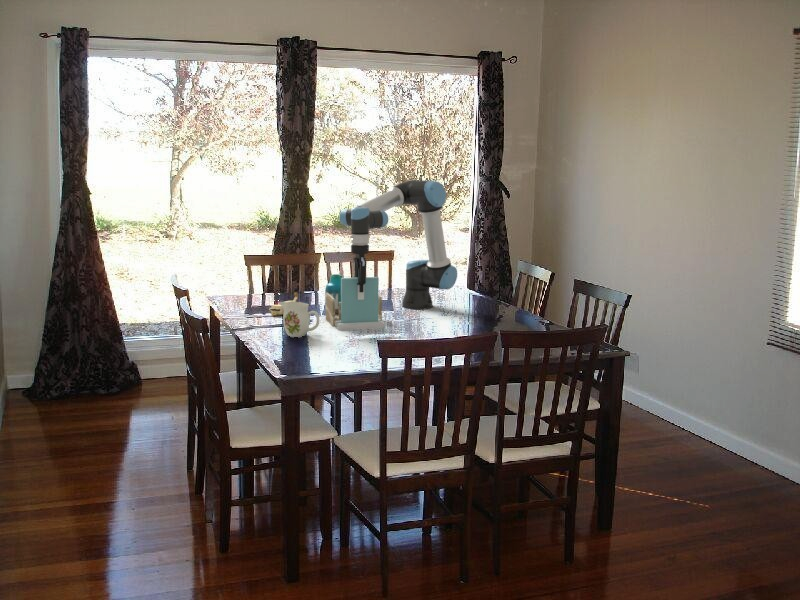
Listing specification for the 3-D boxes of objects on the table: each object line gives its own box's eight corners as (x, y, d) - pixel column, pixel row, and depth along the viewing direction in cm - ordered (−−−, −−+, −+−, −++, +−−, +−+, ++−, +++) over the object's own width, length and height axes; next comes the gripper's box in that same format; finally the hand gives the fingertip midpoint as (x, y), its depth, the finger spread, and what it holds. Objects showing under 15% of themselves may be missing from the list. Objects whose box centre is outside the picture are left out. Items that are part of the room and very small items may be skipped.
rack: (372, 320, 365) (373, 291, 363) (381, 327, 351) (382, 297, 348) (325, 322, 359) (325, 292, 356) (332, 329, 345) (332, 299, 342)
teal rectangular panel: (376, 326, 347) (377, 276, 343) (378, 327, 345) (378, 277, 341) (340, 328, 343) (340, 278, 338) (341, 329, 341) (341, 278, 337)
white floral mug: (315, 340, 325) (314, 307, 323) (273, 337, 329) (273, 304, 327) (323, 334, 336) (323, 302, 333) (283, 331, 340) (282, 299, 337)
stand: (379, 327, 350) (379, 318, 350) (384, 331, 343) (384, 322, 343) (334, 329, 345) (334, 320, 344) (338, 333, 338) (338, 324, 337)
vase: (344, 318, 368) (344, 277, 365) (322, 317, 370) (322, 276, 367) (350, 313, 378) (350, 273, 375) (328, 312, 380) (328, 272, 377)
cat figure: (287, 309, 395) (263, 314, 371) (288, 291, 394) (264, 295, 370) (306, 310, 392) (283, 316, 368) (306, 292, 391) (283, 297, 367)
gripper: (347, 242, 344) (346, 295, 348) (355, 246, 328) (355, 302, 333) (363, 241, 346) (363, 294, 350) (373, 246, 331) (373, 301, 335)
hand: (359, 298), depth 341 cm, fingers open, 3 cm apart
